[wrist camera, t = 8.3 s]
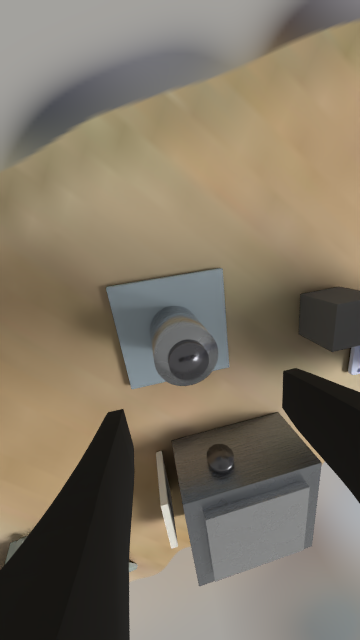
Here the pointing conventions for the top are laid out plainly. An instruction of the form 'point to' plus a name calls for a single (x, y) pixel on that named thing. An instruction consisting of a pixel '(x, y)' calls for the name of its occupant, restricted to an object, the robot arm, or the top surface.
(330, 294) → the rubber block
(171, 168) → the top surface
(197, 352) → the cylinder
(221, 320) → the pad
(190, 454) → the box
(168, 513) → the label tile
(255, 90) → the top surface
